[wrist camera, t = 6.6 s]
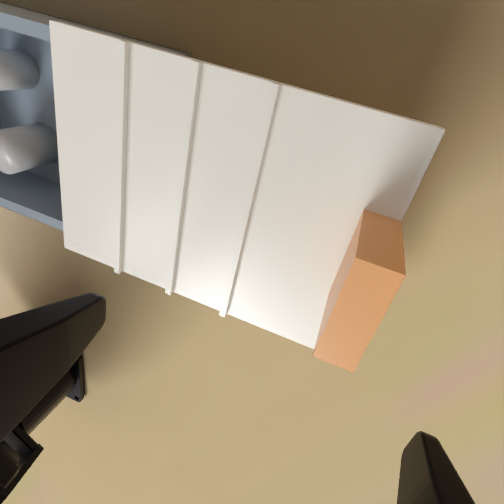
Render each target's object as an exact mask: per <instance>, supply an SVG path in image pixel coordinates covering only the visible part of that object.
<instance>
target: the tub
mask: <svg viewBox="0 0 504 504" xmlns="http://www.w3.org/2000/svg"><path fill="white" fill-rule="evenodd" d="M49 20H54V21H61V22H65V23H68V24H72V25H75V26H79V27H83V28H86V29H90V30H94V31H97V32H101V33H104V34H108V35H112V36H115V37H119V38H122V39H126V40H130V41H133V42H137V43H141V44H144V45H148V46H151V47H155V48H159V49H162V50H166V51H170V52H173V53H177V54H180V55H184V56H188V57H191V54H188V53H184V52H181V51H177V50H174V49H170V48H166V47H163V46H159V45H155V44H152V43H148V42H144V41H141V40H137V39H134V38H130V37H126V36H123V35H119V34H115V33H112V32H108V31H104V30H101V29H97V28H93V27H90V26H86V25H83V24H79V23H75V22H72V21H68V20H64V19H61V18H57V17H53V16H50V15H46V14H42V13H39V12H35V11H32V10H28V9H24V8H21V7H17V6H13V5H10V4H6V3H2V2H0V206H1V207H4V208H6V209H9V210H12V211H14V212H17V213H19V214H22V215H24V216H27V217H29V218H32V219H34V220H37V221H39V222H42V223H44V224H47V225H49V226H52V227H54V228H57V229H59V230H62V231H63V218H62V203H61V189H60V174H59V159H58V145H57V130H56V115H55V101H54V86H53V71H52V57H51V42H50V28H49Z"/></svg>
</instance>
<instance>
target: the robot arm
mask: <svg viewBox="0 0 504 504" xmlns="http://www.w3.org/2000/svg"><path fill="white" fill-rule="evenodd" d="M105 318H106V299H105V298H104V297H103V296H101V295H98V294H96V293H87V294H84V295H80V296H77V297H73V298H70V299H67V300H63V301H60V302H56V303H53V304H50V305H46V306H43V307H39V308H36V309H32V310H29V311H26V312H22V313H19V314H15V315H12V316H9V317H5V318H2V319H0V504H1V503H2V502H3V501H4V500H5V499H6V498H7V496H8V495H9V494H10V493H11V491H12V490H13V489H14V487H15V486H16V485H17V483H18V482H19V481H20V480H21V478H22V477H23V476H24V474H25V473H26V472H27V470H28V469H29V468H30V466H31V465H32V464H33V462H34V461H35V460H36V458H37V457H38V456H39V454H40V453H41V452H42V450H43V449H44V448H43V447H42V446H41V445H40V444H37V443H36V442H35V441H34V440H33V439H32V438H31V437H30V436H29V434H30V433H31V432H32V431H33V430H34V429H35V428H36V427H37V426H38V425H39V424H40V423H41V422H42V421H43V420H44V419H45V418H46V417H47V416H48V415H49V414H50V413H51V411H52V410H53V409H54V408H55V407H56V406H57V405H58V404H59V403H60V402H61V401H62V400H63V399H64V398H65V397H66V396H67V397H69V398H71V399H73V400H75V401H77V402H81V401H82V399H83V398H84V388H83V366H82V357H81V356H80V355H81V354H82V352H83V351H84V350H85V348H86V347H87V346H88V344H89V343H90V342H91V340H92V339H93V338H94V337H95V335H96V334H97V333H98V331H99V330H100V329H101V327H102V326H103V324H104V322H105ZM397 504H475V502H474V501H473V499H472V497H471V496H470V494H469V492H468V490H467V489H466V487H465V485H464V484H463V482H462V480H461V478H460V477H459V475H458V473H457V471H456V470H455V468H454V466H453V465H452V463H451V461H450V459H449V458H448V456H447V454H446V452H445V451H444V449H443V447H442V446H441V444H440V442H439V441H438V439H437V438H436V437H434V436H432V435H429V434H427V433H425V432H422V431H419V432H417V433H416V434H415V436H414V437H413V438H412V439H411V441H410V442H409V443H408V444H407V446H406V447H405V449H404V451H403V453H402V458H401V468H400V478H399V488H398V498H397Z"/></svg>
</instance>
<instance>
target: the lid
mask: <svg viewBox="0 0 504 504" xmlns="http://www.w3.org/2000/svg"><path fill="white" fill-rule="evenodd" d="M49 28H50V42H51V57H52V71H53V86H54V101H55V115H56V130H57V145H58V159H59V174H60V189H61V203H62V218H63V233H64V247H65V248H66V249H69V250H71V251H74V252H76V253H79V254H81V255H84V256H86V257H89V258H91V259H93V260H96V261H98V262H101V263H103V264H106V265H108V266H111V267H113V268H114V272H115V273H117V274H120V273H121V272H122V271H123V272H125V273H128V274H130V275H133V276H135V277H138V278H140V279H143V280H145V281H148V282H150V283H152V284H155V285H157V286H160V287H162V288H165V293H166V294H169V295H171V294H172V293H173V292H175V293H177V294H180V295H182V296H184V297H187V298H189V299H192V300H194V301H197V302H199V303H202V304H204V305H207V306H209V307H211V308H214V309H216V310H219V311H220V314H219V315H220V316H222V317H225V316H226V315H227V314H229V315H231V316H234V317H236V318H239V319H241V320H243V321H246V322H248V323H251V324H253V325H256V326H258V327H261V328H263V329H266V330H268V331H270V332H273V333H275V334H278V335H280V336H283V337H285V338H288V339H290V340H293V341H295V342H297V343H300V344H302V345H305V346H307V347H310V348H312V349H314V352H313V357H315V358H318V359H320V360H323V361H325V362H328V363H330V364H333V365H335V366H337V367H340V368H342V369H345V370H347V371H350V372H352V373H353V372H354V371H355V369H356V367H357V365H358V363H359V361H360V359H361V358H362V356H363V354H364V352H365V350H366V348H367V346H368V345H369V343H370V341H371V339H372V337H373V335H374V333H375V332H376V330H377V328H378V326H379V324H380V322H381V320H382V319H383V317H384V315H385V313H386V311H387V309H388V308H389V306H390V304H391V302H392V300H393V298H394V296H395V295H396V293H397V291H398V289H399V287H400V285H401V283H402V282H403V280H404V278H405V276H406V272H405V259H404V247H403V235H402V222H401V221H402V219H403V217H404V215H405V213H406V211H407V209H408V207H409V205H410V202H411V200H412V198H413V196H414V194H415V192H416V190H417V188H418V186H419V184H420V182H421V180H422V178H423V176H424V174H425V171H426V169H427V167H428V165H429V163H430V161H431V159H432V157H433V155H434V153H435V151H436V149H437V147H438V145H439V143H440V140H441V138H442V136H443V134H444V132H445V129H444V127H441V126H437V125H434V124H430V123H426V122H423V121H419V120H416V119H412V118H408V117H405V116H401V115H398V114H394V113H390V112H387V111H383V110H379V109H376V108H372V107H369V106H365V105H361V104H358V103H354V102H350V101H347V100H343V99H340V98H336V97H332V96H329V95H325V94H322V93H318V92H314V91H311V90H307V89H303V88H300V87H296V86H293V85H289V84H285V83H282V82H278V81H274V80H271V79H267V78H264V77H260V76H256V75H253V74H249V73H246V72H242V71H238V70H235V69H231V68H227V67H224V66H220V65H217V64H213V63H209V62H206V61H202V60H198V59H195V58H191V57H188V56H184V55H180V54H177V53H173V52H170V51H166V50H162V49H159V48H155V47H151V46H148V45H144V44H141V43H137V42H133V41H130V40H126V39H122V38H119V37H115V36H112V35H108V34H104V33H101V32H97V31H94V30H90V29H86V28H83V27H79V26H75V25H72V24H68V23H65V22H61V21H54V20H49Z"/></svg>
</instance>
